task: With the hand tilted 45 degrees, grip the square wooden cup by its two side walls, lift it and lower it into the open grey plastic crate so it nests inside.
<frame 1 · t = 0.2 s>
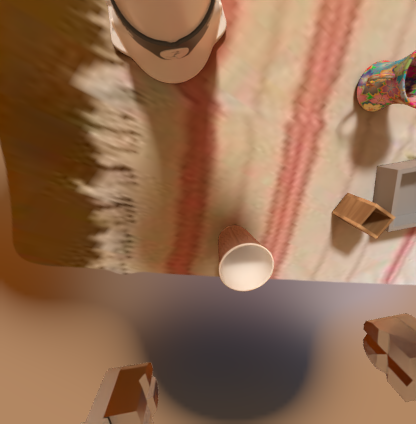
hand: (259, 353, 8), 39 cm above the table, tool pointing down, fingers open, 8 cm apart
square wooden cup: (348, 208, 51), on the table
grey crate: (402, 190, 51), on the table
coffee cup: (232, 237, 51), on the table
mug: (367, 88, 42), on the table
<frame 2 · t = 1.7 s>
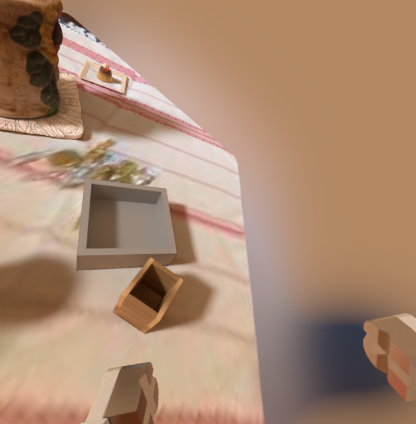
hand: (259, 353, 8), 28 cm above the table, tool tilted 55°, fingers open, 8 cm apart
square wooden cup: (141, 304, 33), on the table
grey crate: (125, 231, 39), on the table
dessert: (104, 80, 66), on the table
cookie jar: (14, 97, 46), on the table
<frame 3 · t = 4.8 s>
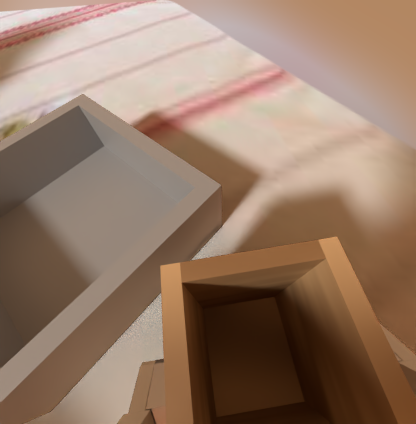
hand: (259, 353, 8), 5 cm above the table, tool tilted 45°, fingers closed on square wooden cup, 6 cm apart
square wooden cup: (247, 349, 12), on the table, touching gripper
grey crate: (90, 236, 16), on the table
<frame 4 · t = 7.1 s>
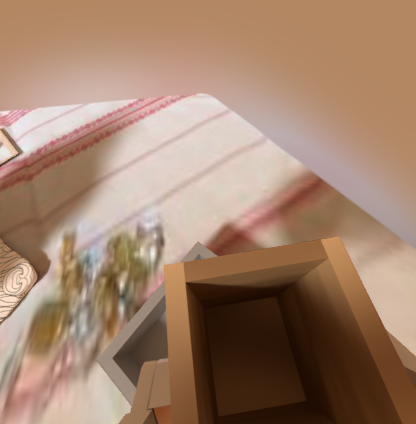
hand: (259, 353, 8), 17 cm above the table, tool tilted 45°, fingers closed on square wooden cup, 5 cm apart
square wooden cup: (249, 349, 12), point 13 cm above the table, touching gripper
grey crate: (211, 344, 23), on the table
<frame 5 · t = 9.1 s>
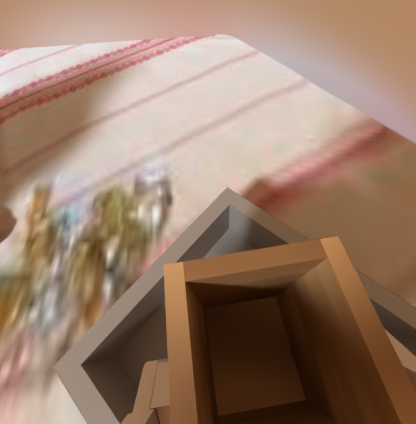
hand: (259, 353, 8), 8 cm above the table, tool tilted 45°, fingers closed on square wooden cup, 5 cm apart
square wooden cup: (248, 349, 12), point 3 cm above the table, touching gripper
grey crate: (243, 346, 15), on the table
when the fingers open (8 cm above the table, at t = 9.3 s): square wooden cup drops 2 cm, resting on grey crate.
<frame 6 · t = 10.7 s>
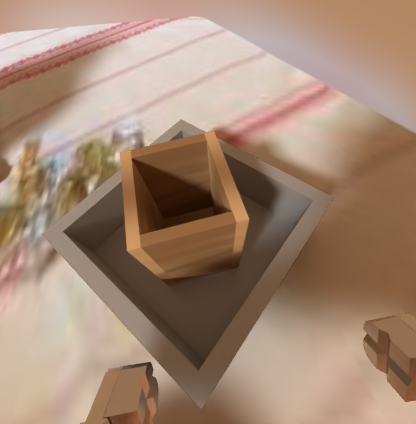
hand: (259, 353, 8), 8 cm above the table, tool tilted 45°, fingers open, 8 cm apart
square wooden cup: (195, 240, 18), point 1 cm above the table, touching grey crate
grey crate: (196, 242, 19), on the table
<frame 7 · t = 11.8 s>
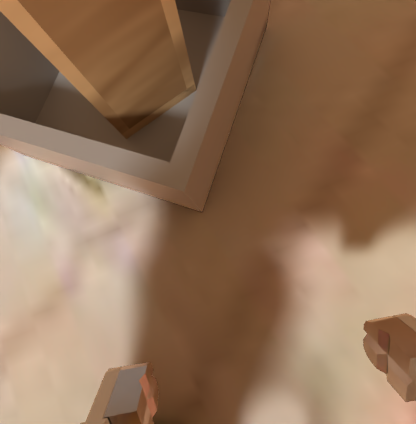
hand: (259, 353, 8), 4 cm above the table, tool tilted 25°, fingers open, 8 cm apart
square wooden cup: (138, 83, 14), point 1 cm above the table, touching grey crate
grey crate: (142, 91, 16), on the table
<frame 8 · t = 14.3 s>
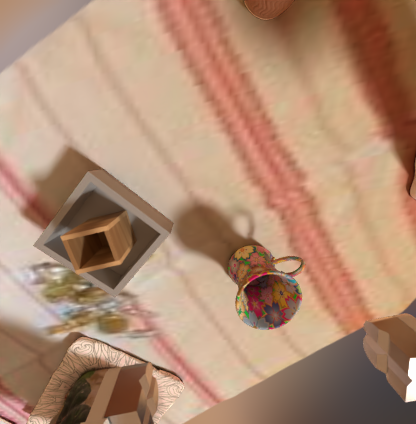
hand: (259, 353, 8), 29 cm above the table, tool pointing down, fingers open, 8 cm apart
square wooden cup: (113, 229, 35), point 1 cm above the table, touching grey crate
grey crate: (114, 228, 36), on the table
mug: (255, 259, 40), on the table
cookie jar: (110, 394, 46), on the table
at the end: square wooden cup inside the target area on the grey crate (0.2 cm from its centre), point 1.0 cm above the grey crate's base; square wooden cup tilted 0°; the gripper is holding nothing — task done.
